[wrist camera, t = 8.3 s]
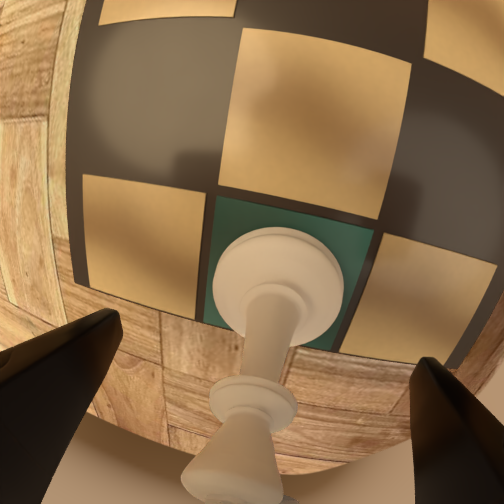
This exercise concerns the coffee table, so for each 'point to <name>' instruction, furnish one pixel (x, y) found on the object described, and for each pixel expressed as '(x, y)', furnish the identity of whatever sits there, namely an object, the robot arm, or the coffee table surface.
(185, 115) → the game board
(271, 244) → the chess piece
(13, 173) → the coffee table surface
